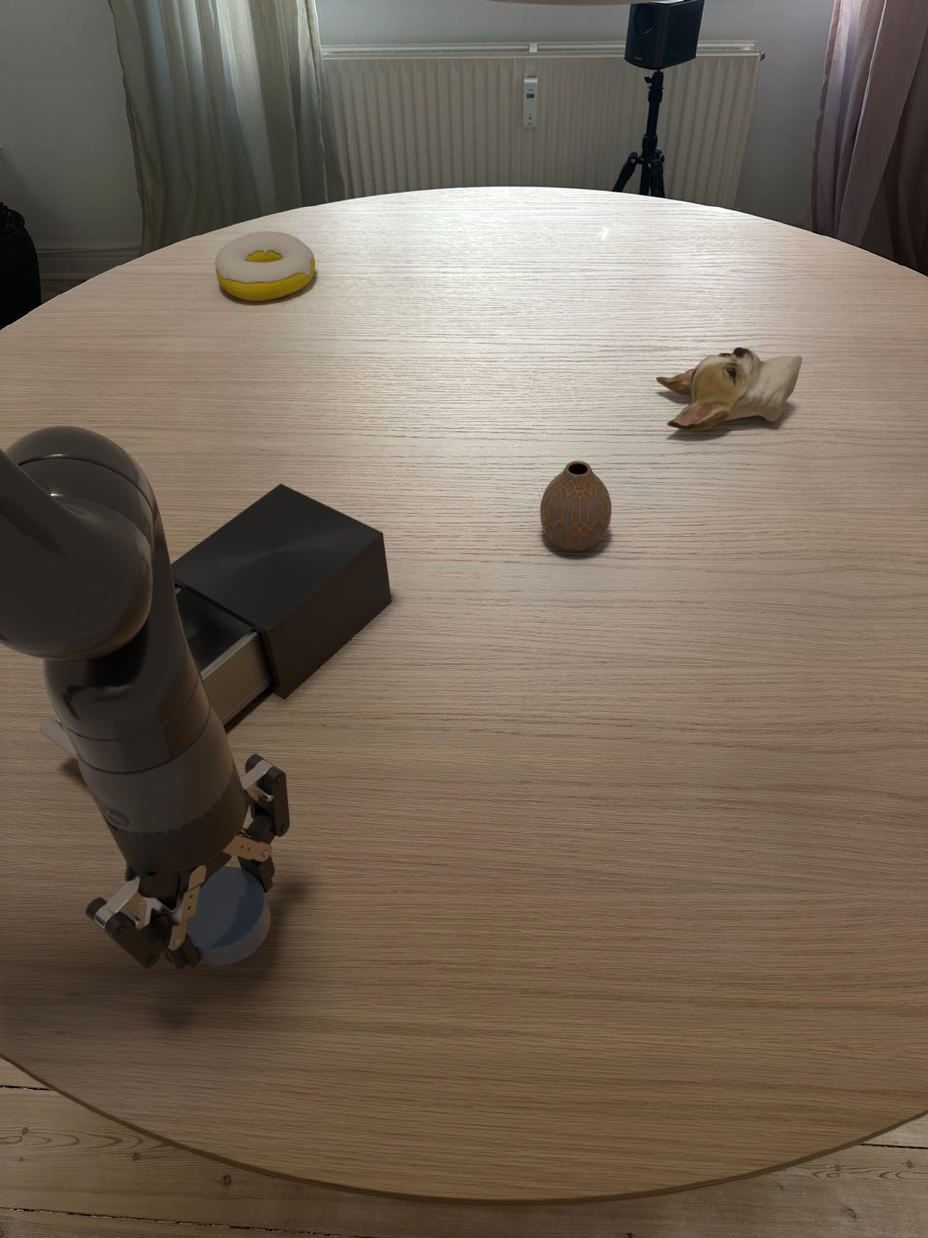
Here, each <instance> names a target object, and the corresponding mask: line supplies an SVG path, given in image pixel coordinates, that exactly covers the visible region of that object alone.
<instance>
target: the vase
mask: <svg viewBox="0 0 928 1238" xmlns="http://www.w3.org/2000/svg"><path fill="white" fill-rule="evenodd" d="M612 511H613V510H612V500H611V495H610V493H609V491H608V488H607V486H606V484H605V483H604V482H603V481H602V480H601V478H599V476H598V475H596V474H595V473H594V470H593V469H592V467H591V465H590V464H589V463H587V462H585V461H582V460H573V461H570V462H568V463H567V464H566V465H565V467H563V470H562V471H561V472H560V473H559V474H557V475H556V476H555V477H554V478H553V479H552V480H551V481H549V483H548V484H547V486H546V488H545V489H544V492H543V495H542V498H541V501H540V506H539V516H540V517H539V518H540V524H541V528H542V529H543V532H544V534H545V536H546V538H547V539H548V540H549V541H550V542H551V543H552V544H553V545H554V546H556V547H558V548H559V549H561V550H563V551H565V552H566V551H567V552H572V553H577V552H579V553H580V552H584V551H586V550H589V549H591V548H593V547H594V546H596V545H598V543H599V542H600V541H602V539H603V538H604V537H605V535H606V534H607V531H608V529H609V527H610V524H611V519H612Z"/></svg>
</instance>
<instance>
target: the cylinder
mask: <svg viewBox="0 0 928 1238" xmlns="http://www.w3.org/2000/svg"><path fill="white" fill-rule="evenodd" d="M271 921H272V914H271V908H270V904H269V902H268V898H267V896H266V893H264V890H263V887H262V885H261V883H260V882H259V880H258V879H257V878H256V877H255V876H254V875H253V874H251V873H250V872H248V871H246V870H244V869H242V868H241V867H238V866H232V865H224V866H223V867H222V868H220V869H219V870H218V871H216V872H215V873H214V874H213V875H212V876H211V877H210V878H209V880H208V881H207V882H206V883H205V885H204V886H203V887H202V888H201V889H200V891H199V897H198V903H197V909H196V914H195V916H194V917H192V918H191V919H189V920H188V925H187V931H186V934H188V935H189V936H190V938H191V940H192V942H193V944H194V946H195V949H196V951H197V953H198V955H199V957H200V959H201V961H200V962H199V964H202V965H207V966H212V967H225V966H231V965H234V964H236V963H239V962H241V961H243V960H245V959H246V958H248V957H249V956H251V955H252V954H253V953H254V952H256V951H257V949H259V947H260V946H261V945H262V944H263V942H264V940H265V939H266V937H267V935H268V933H269V930H270V926H271Z"/></svg>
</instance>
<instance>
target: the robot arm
mask: <svg viewBox="0 0 928 1238" xmlns="http://www.w3.org/2000/svg"><path fill="white" fill-rule="evenodd" d="M159 509H160V508H159V505H158V501H157V498H156V496H155V493H154V490H153V488H152V484H151V483H150V481H149V479H148V477H147V474H145V472H144V471H143V468H141V466H140V465H139V464H138V462H137V461H136V460H135V459H134V458H133V457H132V455H130V453H128V452H127V451H126V449H124V448H123V447H122V446H120V445H119V444H117V443H116V442H114V441H113V440H112V439H110V438H109V437H106V436H104V435H102V434H100V433H98V432H95V431H92V430H89V429H86V428H81V427H77V426H71V425H70V426H69V425H57V426H48V427H42V428H40V429H37V430H33V431H31V432H28V433H27V434H25V435H24V436H22V437H20V438H19V439H17V440H16V441H15V442H13V443H12V444H10V446H9V447H7V448H6V449H5V450H4V451H3V449H2V448H0V645H1V646H3V647H5V648H7V649H9V650H12V651H15V652H18V653H20V654H24V655H27V656H30V657H34V658H36V659H42V661H43V662H42V668H43V669H42V670H43V680H44V684H45V688H46V693H47V695H48V699H49V701H50V703H51V706H52V708H53V711H54V712H55V714H56V716H57V718H59V720H60V722H61V724H62V726H63V728H64V730H65V732H66V734H67V736H68V738H69V740H70V742H71V744H72V746H73V748H74V750H75V752H76V756H77V760H76V761H77V763H78V767H79V771H80V773H81V776H82V779H83V781H84V783H85V786H86V788H87V789H88V791H89V793H90V795H91V797H92V799H93V801H94V804H95V805H96V807H97V808H98V810H99V812H100V814H101V817H102V818H103V820H104V822H105V824H106V826H107V828H108V830H109V832H110V834H111V836H112V838H113V840H114V841H115V844H116V846H117V847H118V849H119V851H120V853H121V855H122V856H123V858H124V861H125V863H126V864H125V871H124V879H125V883H124V884H123V885H122V886H121V888H119V890H118V891H117V892H116V893H115V894H114V895H113V896H112V897H111V898H110V899H109V900H108V901H107V900H106V899H104V898H103V897H101V896H100V897H95V899H93V900H91V902H90V903H89V904H87V906H86V909H85V915H86V916H87V917H88V918H89V919H90V920H91V921H92V922H93V923H94V924H96V926H97V927H99V928H100V929H101V931H103V932H104V934H106V935H107V936H108V937H109V938H111V940H112V941H113V942H115V944H117V945H118V946H119V947H120V948H121V949H122V950H124V951H125V952H127V953H128V954H129V955H130V956H131V957H132V958H133V959H134V960H135V961H136V962H137V963H138V964H140V965H141V966H142V967H143V968H144V969H147V970H148V969H151V968H152V967H154V966H155V965H156V964H157V963H158V962H159V960H160V958H161V955H162V956H163V957H164V958H165V960H167V961H168V962H170V964H172V965H173V966H174V967H175V968H176V969H178V970H184V969H185V968H186V967H189V968H190V969H191V970H194V969H195V968H196V967H197V966H198V964H200V961H201V959H200V957H199V955H198V953H197V951H196V949H195V946H194V944H193V942H192V940H191V938H190V936H189V935H188V934H186V931H187V925H188V920H189V919H191V918H192V917H194V916H195V914H196V909H197V903H198V897H199V891H200V889H201V888H202V887H203V886H204V885H205V883H206V882H207V881H208V880H209V878H210V877H211V876H212V875H213V874H214V873H215V872H216V871H218V870H219V869H220V868H222V867H223V866H226V864H227V863H228V862H229V861H231V859H233V857H232V856H236V858H237V860H238V863H239V866H240V868H242V869H244V870H246V871H248V872H250V873H251V874H253V875H254V876H255V877H256V878H257V879H258V880H259V882H260V883H261V885H262V887H263V890H264V893H265V894H268V892H269V891H270V890H271V889H272V888H273V887H274V886H275V885H274V882H273V879H272V878H274V876H275V873H276V868H275V865H274V862H273V857H272V855H271V854H272V852H273V846H272V845H271V844H272V842H273V841H274V839H275V837H277V838H281V837H283V836H285V835H286V834H287V832H288V831H289V830H290V827H291V819H290V809H289V797H288V796H289V795H288V785H287V774H286V772H285V771H283V770H282V769H281V768H279V767H277V766H276V765H275V764H273V763H272V762H270V761H268V760H267V759H265V758H264V757H262V756H261V755H259V753H253V754H252V755H250V756H249V757H248V758H247V760H246V761H245V764H244V771H245V774H243V775H242V776H241V777H240V775H239V772H238V768H237V766H236V761H235V759H234V757H233V752H232V750H231V747H230V743H229V740H228V736H227V731H226V729H225V726H223V725H222V723H221V720H220V718H219V715H218V714H217V712H216V710H215V708H214V706H213V705H212V703H211V701H210V699H209V697H208V695H207V691H206V688H205V685H204V682H203V679H202V676H201V673H200V670H199V667H198V664H197V661H196V658H195V655H194V653H193V651H192V648H191V646H190V644H189V642H188V639H187V637H186V634H185V631H184V628H183V624H182V621H181V617H180V613H179V610H178V604H177V598H176V591H175V585H174V579H173V574H172V569H171V564H172V562H171V558H170V553H169V548H168V544H167V543H168V542H167V539H166V534H165V529H164V524H163V520H162V516H161V512H160V510H159ZM249 811H250V817H251V820H252V821H251V823H250V824H249V825H248V826H247V827H246V826H244V824H245V820H246V818H247V814H248V812H249ZM142 899H143V900H144V902H145V904H146V905H145V906H146V907H145V914H144V921H142V920H141V919H140V918H139V915H140V909H139V904H140V901H141V900H142ZM142 925H143V926H142ZM139 928H140V929H139Z"/></svg>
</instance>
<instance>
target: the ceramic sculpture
mask: <svg viewBox="0 0 928 1238" xmlns="http://www.w3.org/2000/svg"><path fill="white" fill-rule="evenodd" d="M802 364H803V357H802V356H801V355H795V356H787V355H780V356H779V355H778V356H776V357H775V356H774V357H771V358H768V359H765V360H761V359H760V358H759V356H758V354H757V353H756V352H754V351H753V350H750V349H749V348H746V347H739V346H738V347H735V348H734V349H733V351H732V352H731V353H730V352H719V354H711V355H708V356H706V357H705V358H704V359H702V360H701V361H700V362H699V363H698V364H696V366H695V367H694V368H690V369H689V370H686V371H684V372H683V373H679V374H676V375H674V376H673V377H668V376H667V377H666V376H657V377H655V380H656V382H657V383H658V384H660V385H661V386H663V387H665V388H666V389H668V390H669V391H671V392H673V393H674V394H678V395H680V396H686V397H687V396H689V399H690V404H689V405H687V406H685V407H683V409H682V410H681V411H680V412H679V413H678V414H677V415H676V417H675V418H674V419H672V420H670V421H668V422H667V423H666V425H667V427H671V428H675V429H679V430H685V431H691V432H692V431H693V432H694V431H695V432H702V431H705V430H708V429H710V428H712V427H714V426H716V425H717V424H720V423H722V422H724V421H725V422H726V421H730V420H736V419H741V418H747V417H753V416H761V417H763V418H764V419H765V420H766V421H768V422H775V421H777V420H778V418H779V417H780V416H781V414H782V412H783V408H784V406H785V405H786V403H787V401H788V400H789V398H790V397H791V395H792V394H793V393H794V391H795V387H796V385H797V382H798V377H799V374H800V369H801V368H802Z"/></svg>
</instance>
